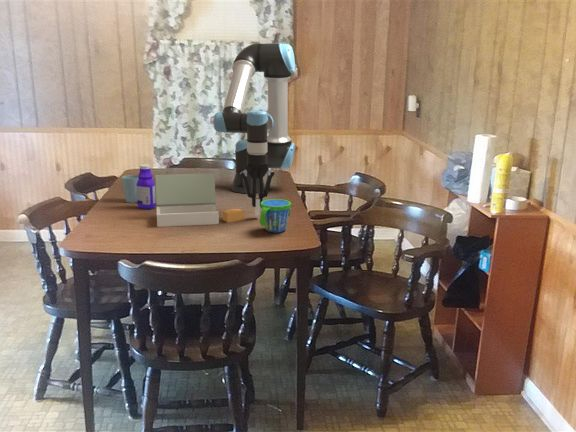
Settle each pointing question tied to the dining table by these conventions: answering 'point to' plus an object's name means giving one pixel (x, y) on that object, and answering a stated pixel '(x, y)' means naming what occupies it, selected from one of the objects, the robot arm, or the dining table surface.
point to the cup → (130, 187)
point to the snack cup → (275, 214)
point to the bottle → (145, 188)
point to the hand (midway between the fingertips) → (257, 214)
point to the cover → (185, 189)
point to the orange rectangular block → (233, 215)
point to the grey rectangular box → (187, 215)
